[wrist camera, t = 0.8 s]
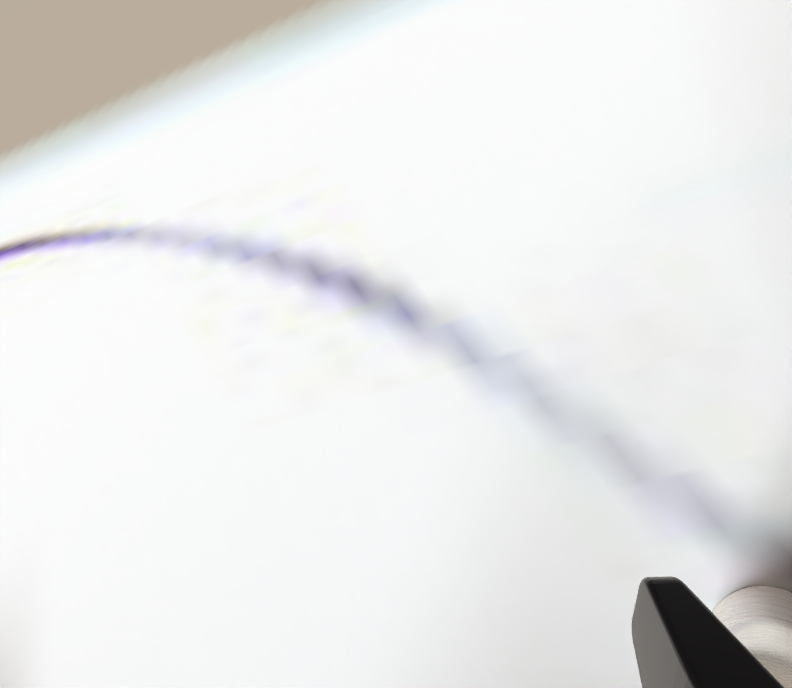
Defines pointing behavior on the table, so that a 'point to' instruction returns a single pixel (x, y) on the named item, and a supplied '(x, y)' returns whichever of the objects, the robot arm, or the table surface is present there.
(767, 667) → the handle peg
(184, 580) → the table surface
